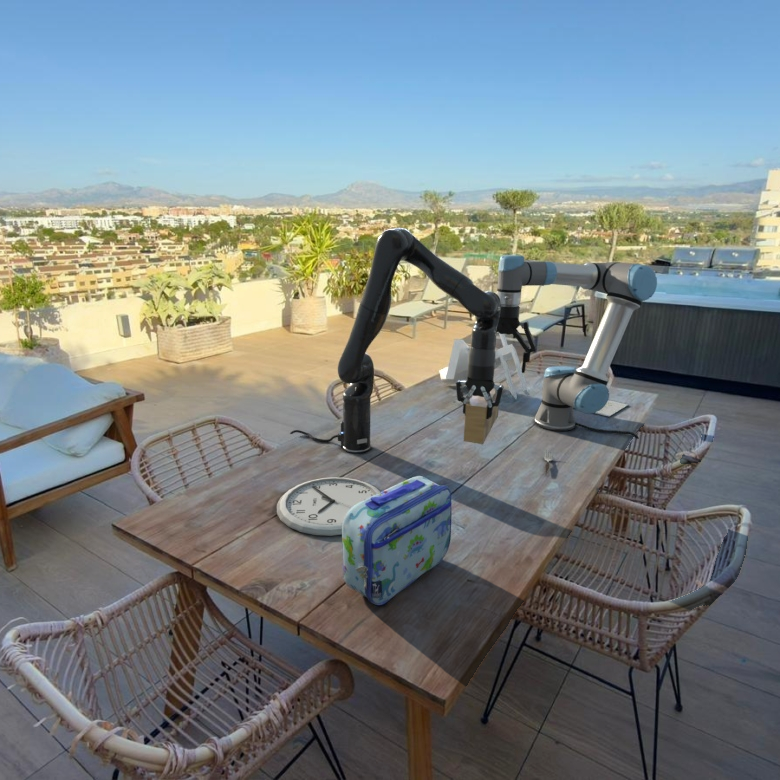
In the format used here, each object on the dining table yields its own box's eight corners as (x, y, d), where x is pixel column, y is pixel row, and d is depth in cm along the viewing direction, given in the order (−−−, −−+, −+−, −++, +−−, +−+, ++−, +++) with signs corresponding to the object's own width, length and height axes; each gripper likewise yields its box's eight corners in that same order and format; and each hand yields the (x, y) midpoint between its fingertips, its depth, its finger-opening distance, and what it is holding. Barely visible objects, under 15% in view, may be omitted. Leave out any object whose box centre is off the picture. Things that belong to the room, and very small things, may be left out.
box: (481, 413, 180) (483, 381, 176) (498, 415, 178) (501, 383, 174) (463, 441, 156) (466, 404, 152) (483, 444, 154) (486, 407, 151)
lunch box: (371, 618, 102) (371, 524, 95) (336, 591, 109) (334, 502, 103) (455, 562, 119) (460, 479, 113) (420, 542, 126) (423, 463, 120)
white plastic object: (461, 429, 252) (437, 405, 227) (444, 352, 274) (420, 323, 250) (535, 404, 240) (518, 377, 215) (510, 326, 262) (492, 293, 237)
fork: (541, 474, 162) (542, 468, 162) (545, 454, 177) (545, 449, 176) (550, 476, 162) (550, 470, 161) (553, 456, 176) (553, 450, 175)
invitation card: (608, 416, 214) (573, 407, 224) (608, 416, 214) (573, 408, 224) (628, 404, 229) (594, 396, 238) (628, 405, 229) (594, 397, 238)
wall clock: (392, 527, 129) (268, 531, 127) (391, 533, 130) (269, 537, 127) (383, 473, 158) (282, 475, 155) (383, 478, 158) (282, 480, 156)
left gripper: (454, 362, 150) (450, 417, 155) (504, 368, 145) (499, 424, 150) (460, 356, 156) (456, 409, 161) (508, 361, 152) (503, 416, 157)
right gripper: (466, 303, 168) (462, 367, 174) (547, 309, 159) (539, 376, 165) (472, 301, 174) (468, 362, 181) (549, 306, 166) (542, 370, 172)
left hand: (477, 416), depth 156 cm, fingers closed on box, 6 cm apart
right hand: (502, 369), depth 173 cm, fingers open, 13 cm apart
